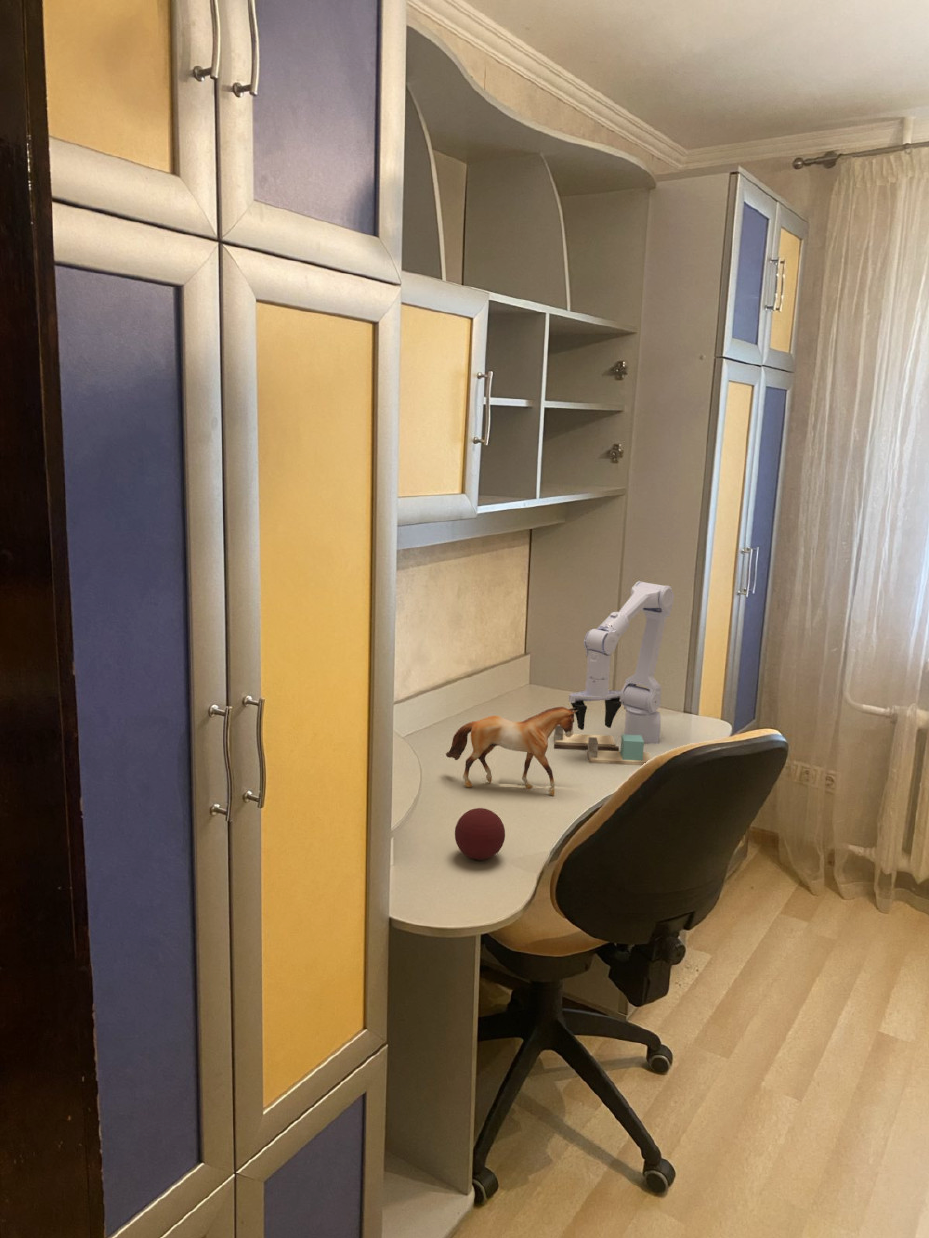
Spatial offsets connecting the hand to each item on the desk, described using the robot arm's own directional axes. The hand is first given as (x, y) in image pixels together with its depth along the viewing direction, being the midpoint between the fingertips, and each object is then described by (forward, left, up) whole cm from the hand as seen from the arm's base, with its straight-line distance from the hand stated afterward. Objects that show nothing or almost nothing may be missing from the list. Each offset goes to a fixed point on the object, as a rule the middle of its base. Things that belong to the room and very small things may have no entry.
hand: (594, 727), depth 235 cm
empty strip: (+1, -12, -8) cm, 15 cm away
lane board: (+1, -5, -9) cm, 11 cm away
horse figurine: (+22, +18, -9) cm, 30 cm away
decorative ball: (+28, +57, -9) cm, 64 cm away
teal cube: (-10, 0, -7) cm, 12 cm away
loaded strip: (-7, 0, -8) cm, 11 cm away
